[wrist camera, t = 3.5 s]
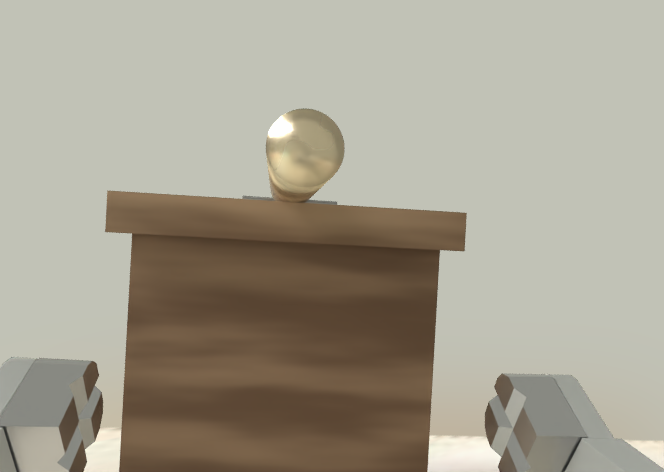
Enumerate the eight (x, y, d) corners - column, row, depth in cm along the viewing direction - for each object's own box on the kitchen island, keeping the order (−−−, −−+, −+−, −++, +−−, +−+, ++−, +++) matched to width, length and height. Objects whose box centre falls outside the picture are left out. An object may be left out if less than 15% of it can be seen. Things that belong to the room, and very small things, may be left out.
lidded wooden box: (438, 709, 27) (466, 212, 27) (78, 725, 25) (107, 190, 25) (373, 520, 45) (390, 220, 45) (159, 521, 43) (177, 207, 43)
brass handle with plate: (392, 192, 18) (396, 116, 18) (210, 181, 17) (215, 101, 17) (324, 214, 41) (326, 182, 41) (248, 210, 41) (250, 177, 41)
